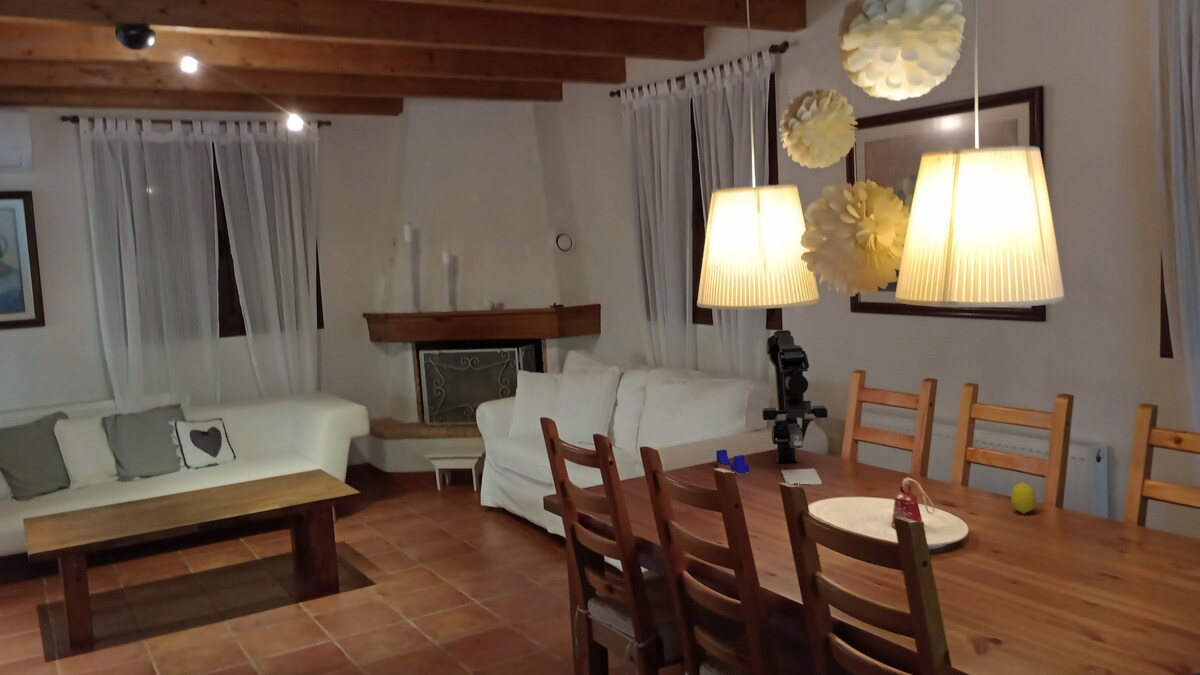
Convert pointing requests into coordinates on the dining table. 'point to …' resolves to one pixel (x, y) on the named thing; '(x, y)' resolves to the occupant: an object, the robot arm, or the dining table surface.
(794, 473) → the mat
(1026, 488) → the lemon
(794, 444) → the connector
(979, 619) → the dining table surface
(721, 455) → the cable clip
